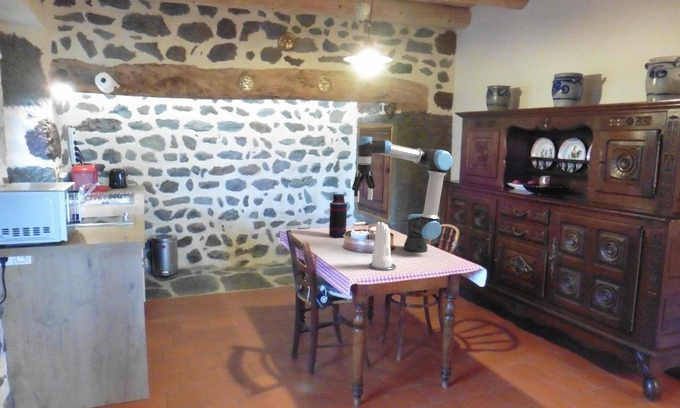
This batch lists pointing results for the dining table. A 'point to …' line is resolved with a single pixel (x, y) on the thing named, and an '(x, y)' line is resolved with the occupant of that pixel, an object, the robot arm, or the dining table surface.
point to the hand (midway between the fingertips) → (363, 200)
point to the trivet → (383, 268)
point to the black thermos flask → (337, 216)
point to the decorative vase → (382, 247)
